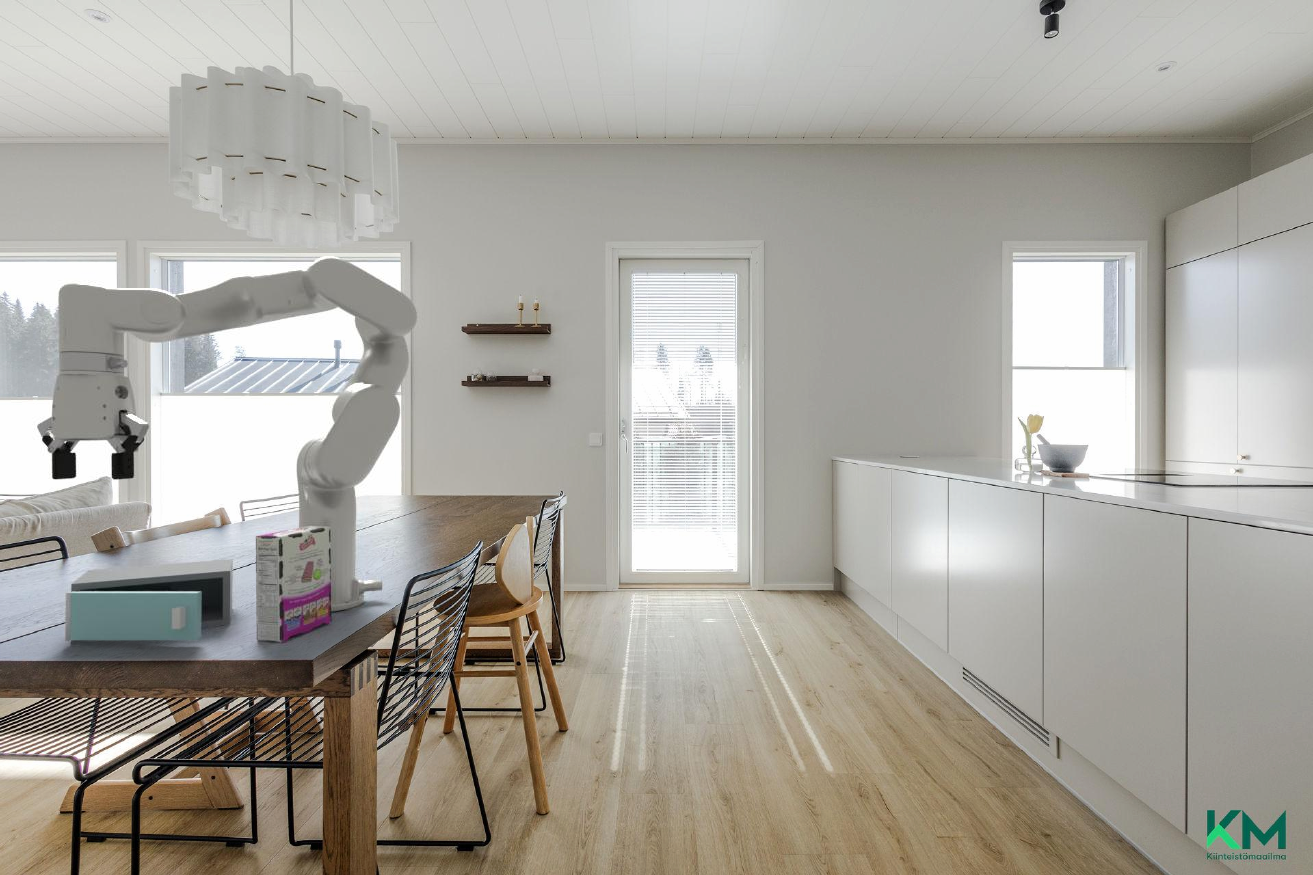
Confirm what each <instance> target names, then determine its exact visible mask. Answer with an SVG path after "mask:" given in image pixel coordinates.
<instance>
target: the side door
mask: <svg viewBox="0 0 1313 875" xmlns="http://www.w3.org/2000/svg"><path fill="white" fill-rule="evenodd" d="M201 598H202V592H156V591H72V592H71V591H67V592H65V627H64V629H65V631H64V632H65V633H64V634H65V637H64V639H65V640H64V641H71V640H98V641H198V640H200V639H202V628H201Z"/></svg>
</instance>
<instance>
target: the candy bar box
mask: <svg viewBox="0 0 1313 875" xmlns="http://www.w3.org/2000/svg"><path fill="white" fill-rule="evenodd" d="M330 529H331V527H326V526H306V527H301V528H299V527H297V528H291V529H286V530H280V531H276V532H270V533H265V534H260V535H256V536H255V564H256V565H255V575H256V576H255V579H256V580H255V582H256V585H255V588H256V592H255V594H256V597H255V598H256V640H257V641H258V642H263V643H282V644H283V643H286V642H288V641H291V640H292V639H296V638H297V637H300V636H302V635H305V634H307V633H310V632H312V631H314V630H315V631H316V629H317V630H318V629H320V628H322V627H325V626H327V625H329V624H331V623H332V612H331V534H330V533H331V531H330Z"/></svg>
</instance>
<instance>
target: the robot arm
mask: <svg viewBox="0 0 1313 875" xmlns="http://www.w3.org/2000/svg"><path fill="white" fill-rule="evenodd" d="M57 304H58V367H59V370H58V372H59V373H58V374H59V375H58V374H57V377H56V379H55V380H56V381H55V385H54V389H53V390H54V391H53V394H52V395H53V397H52V403H51V404H52V406H51V416H50V417H48V418H47V419H45V420H43V421H41V422H40V423H39V424H37V426H36V427H37V428H36V429H37V430H38V433H39V435H40V436H41V437H42V438H41V441H42V443H43V444H44V445H45V446H46V447H47V452H48V453H49V454H51V478H52V479H53V480H67V479H69V480H70V479H75V478H76V477H77V454H76V452H72V451H73V450H74V449H75V447H76V446H77V445H78V443H79V442H80V441H86V442H87V441H89V442H90V441H107V442H108V444H109V445H110V446H111V447H112V449H113V450H114V451H115V452H111V461H110V462H111V464H110V466H111V479H112V480H116V481H117V480H129V479H131V480H132V479H134V477H135V453H137V452H139V447H140V446H141V445H142V444H143V443H144V441H145V436H146V435H147V432H148V430H149V428H150V425H149V423H148V422H145V421H144V420H143V419H140V418H138V417H137V412H136V403H135V401H136V400H135V396H134V391H133V387H132V382H131V380H130V377H129V376H125V368H127V367H128V364H129V363H128V361H127V360H126V359H125V345H124V344H125V333H126V332H127V333H130V334H131V335H133V336H134V337H135V338H136V339H139V340H141V341H144V342H147V343H164V342H165V343H167V342H171V341H178V340H183V339H187V338H193V337H199V336H204V335H209V334H213V333H218V332H222V331H227V330H232V329H240V328H247V327H251V326H255V325H256V326H257V325H260V324H266V323H270V322H275V321H280V320H286V319H288V318H289V319H290V318H296V317H301V316H307V315H312V314H313V315H314V314H318V313H323V312H328V311H332V310H335V309H337V308H339V309H340V310H342V311H344V312H346V313H347V314H349V315H351V316H352V317H354V324H355V328H356V331H357V332H358V334H359V336H360V338H361V341H362V345H363V354H362V357H361V358H360V361H359V363H358V365H357V367H356V368H355V370H354V372H353V373H352V375H351V377H350V378H349V380H348V382H347V383H346V384H345V386H344V388H343V389H342V391H341V392H340V393H339V395H338V396H337V398H336V399H335V401H334V403H333V405H332V409H331V410H332V411H331V417H332V420H333V425H332V426H331V428H330V429H329V430H328V433H327V434H326V435H320V436H317V437H314V438H312V439H310V440H309V441H307V442H306V443H305V444H304V445H303V446H302V447H301V449H300V450H299V452H298V455H297V458H296V479H297V490H298V510H299V512H298V528H301V527H306V526H326V527H331V529H330V531H331V533H330V534H331V613H332V612H338V611H345V610H348V609H349V610H350V609H351V608H356V607H357V606H361V605H362V604H363V603H364V602H365V595H364V594H365V593H367V592H378V591H379V592H380V591H382V590H383V580H373V579H372V580H360V579H359V578H358V577H357V575H356V557H357V556H356V547H357V546H356V545H357V542H356V541H357V536H356V535H357V534H356V532H357V527H356V526H357V525H356V524H357V501H356V500H357V498H356V490H355V487H356V486H357V485H359V484H361V483H362V482H363V481H364V480H365V479H366V478H367V477H368V475H369V474H370V473H371V471H372V470H373V468H374V466H375V465H376V463H377V461H378V460H379V458H380V456H381V455H382V453H383V452H384V449H385V448H386V446H387V444H388V443H389V441H390V439H391V437H392V435H393V433H394V432H395V431H396V429H397V427H398V423H399V420H400V417H401V416H400V415H401V406H400V403H399V399H398V397H397V392H398V391H399V389H400V387H401V384H402V383H403V381H404V378H405V377H406V374H407V372H408V369H409V364H410V357H409V355H410V353H409V350H408V345H407V342H406V338H405V336H406V335H407V334H410V333H411V332H412V330H413V329H414V327H415V326H416V323H417V321H418V320H417V319H418V314H417V313H418V312H417V309H416V306H415V305H414V303H413V301H412V300H411V299H410V298H409V297H408V296H407V295H406V294H405V293H403V292H401V291H400V290H398V289H397V288H395V287H393V286H391V285H390V284H388V283H386V282H384V281H382V280H381V279H380V278H377V277H376V276H374V275H373V274H371V273H369V272H367V271H365V270H364V269H362V268H360V267H359V266H356V265H355V264H354V263H351V262H349V261H347V260H345V259H342V258H340V257H337V256H336V257H335V256H322V257H320V258H318V259H316V260H314V261H313V262H312V263H310V264H308V265H302V266H296V267H289V268H288V267H287V268H282V269H275V270H274V269H273V270H269V271H260V272H252V273H246V274H242V275H238V276H234V277H232V278H230V279H227V280H225V281H222V282H221V283H218V284H215V285H214V286H211V287H207V288H203V289H199V290H194V291H190V292H189V291H188V292H184V293H178V294H172V293H171V292H168V291H166V290H162V289H158V288H121V287H119V288H115V287H109V286H105V285H101V284H100V285H98V284H93V283H79V282H78V283H74V282H73V283H67V284H64V285H62V287H60V289H59V290H58V303H57Z"/></svg>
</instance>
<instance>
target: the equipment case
mask: <svg viewBox="0 0 1313 875" xmlns="http://www.w3.org/2000/svg"><path fill="white" fill-rule="evenodd" d="M233 561H234V559H233V558H230V559H217V560H216V559H215V560H205V561H190V562H189V561H188V562H177V563H165V564H163V563H162V564H151V565H149V564H148V565H139V566H138V565H137V566H126V567H124V566H123V567H122V566H121V567H113V568H112V567H110V568H109V567H108V568H99V569H96V568H95V569H89V570H87V571H86V572H84V574H82V575H81V576H79V577H78V578H77V579H75V580H74V581H73V582H72V583H71V584H70V585H71V587H70V589H71V590H70V592H72V591H156V592H202V598H201V629H204V628H205V629H206V628H215V627H222V626H230V625H231V620H232V613H233V584H234V583H233V578H234V577H233V576H234V574H233V572H234V571H233V570H234V569H233V568H234V567H233V566H234V565H233V563H234V562H233ZM89 641H90V642H97V641H96V640H70V644H71V645H72V644H73V645H74V644H79V643H89Z"/></svg>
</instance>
